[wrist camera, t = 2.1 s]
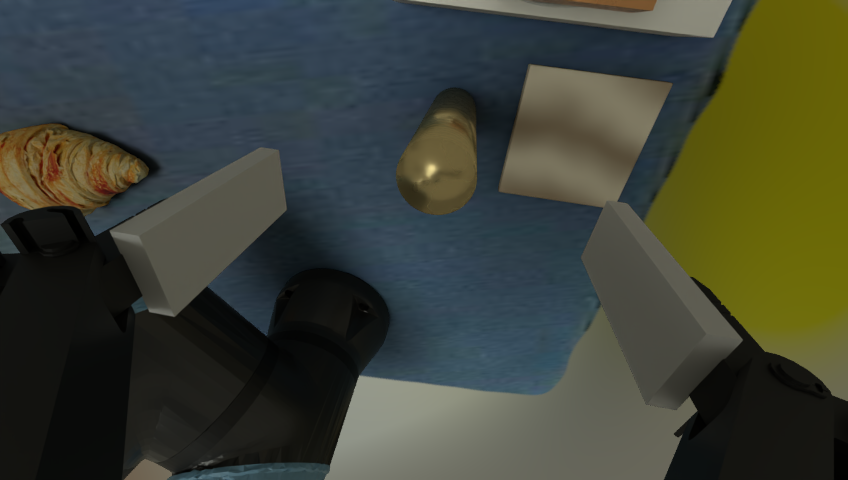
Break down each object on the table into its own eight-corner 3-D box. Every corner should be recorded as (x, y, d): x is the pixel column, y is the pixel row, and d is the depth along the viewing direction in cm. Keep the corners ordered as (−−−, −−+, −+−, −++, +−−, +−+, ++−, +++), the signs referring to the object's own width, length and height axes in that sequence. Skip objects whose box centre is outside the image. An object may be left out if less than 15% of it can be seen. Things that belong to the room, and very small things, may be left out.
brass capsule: (471, 137, 31) (468, 220, 17) (429, 131, 31) (394, 208, 18) (480, 90, 29) (484, 144, 15) (434, 84, 29) (398, 132, 15)
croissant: (168, 129, 38) (89, 106, 30) (175, 216, 39) (100, 216, 31) (17, 139, 41) (-91, 121, 33) (25, 221, 42) (-78, 222, 34)
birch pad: (609, 204, 32) (613, 208, 32) (498, 187, 33) (498, 191, 32) (666, 81, 26) (673, 83, 26) (528, 63, 27) (530, 64, 26)
